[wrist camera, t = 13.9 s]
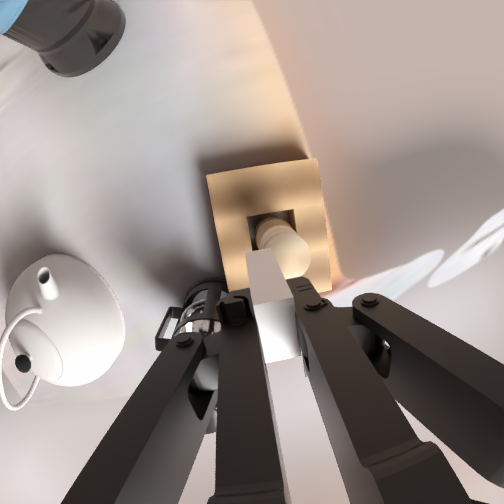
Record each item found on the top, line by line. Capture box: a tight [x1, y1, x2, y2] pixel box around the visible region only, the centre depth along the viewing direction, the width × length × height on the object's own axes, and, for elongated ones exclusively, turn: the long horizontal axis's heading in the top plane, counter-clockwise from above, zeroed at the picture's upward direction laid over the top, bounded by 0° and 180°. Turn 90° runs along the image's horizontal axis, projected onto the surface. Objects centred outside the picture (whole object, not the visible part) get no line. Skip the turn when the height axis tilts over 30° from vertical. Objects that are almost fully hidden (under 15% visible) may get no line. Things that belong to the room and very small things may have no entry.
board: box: [206, 158, 332, 293], centre depth 38 cm, size 18×14×4 cm
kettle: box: [0, 254, 125, 410], centre depth 31 cm, size 25×23×22 cm
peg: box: [255, 216, 311, 279], centre depth 34 cm, size 5×5×14 cm
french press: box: [155, 278, 229, 434], centre depth 31 cm, size 12×9×23 cm
